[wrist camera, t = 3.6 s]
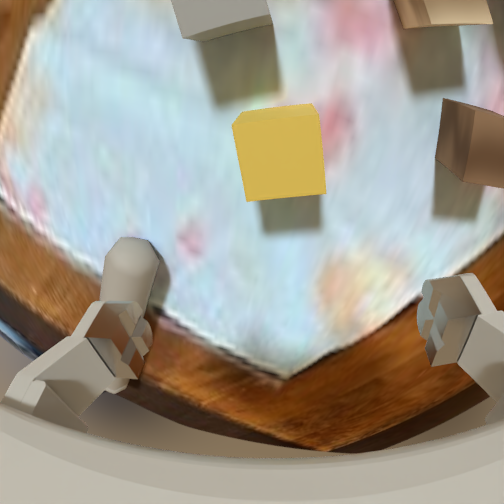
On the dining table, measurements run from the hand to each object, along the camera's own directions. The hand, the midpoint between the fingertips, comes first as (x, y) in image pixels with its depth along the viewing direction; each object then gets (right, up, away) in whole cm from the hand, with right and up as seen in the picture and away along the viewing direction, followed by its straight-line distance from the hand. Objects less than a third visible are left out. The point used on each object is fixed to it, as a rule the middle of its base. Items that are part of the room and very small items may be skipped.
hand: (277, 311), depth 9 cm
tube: (-15, -5, +27) cm, 31 cm away
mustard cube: (+2, +10, +14) cm, 17 cm away
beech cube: (+11, +20, +6) cm, 24 cm away
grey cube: (-2, +19, +8) cm, 21 cm away
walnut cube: (+16, +11, +11) cm, 23 cm away
